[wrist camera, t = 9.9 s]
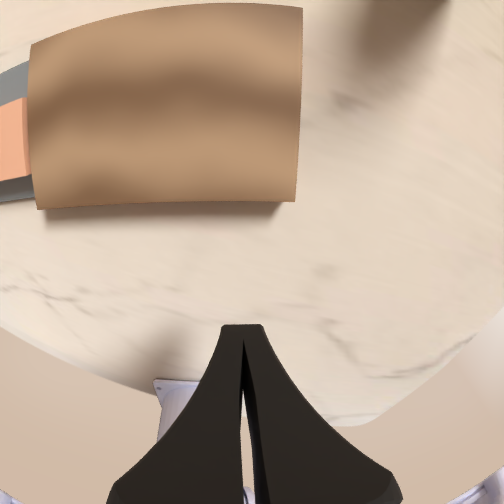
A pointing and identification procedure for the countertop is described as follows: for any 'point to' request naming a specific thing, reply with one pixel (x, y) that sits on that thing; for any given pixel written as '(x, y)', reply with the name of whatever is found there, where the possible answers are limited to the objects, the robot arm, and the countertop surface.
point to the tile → (14, 140)
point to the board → (168, 107)
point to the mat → (4, 91)
